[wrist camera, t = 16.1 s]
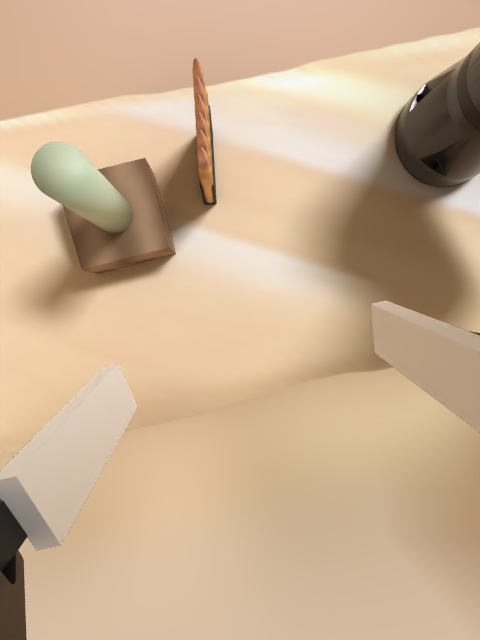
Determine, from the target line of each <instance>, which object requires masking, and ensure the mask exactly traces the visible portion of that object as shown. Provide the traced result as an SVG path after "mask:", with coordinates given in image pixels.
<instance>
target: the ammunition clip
mask: <svg viewBox="0 0 480 640" xmlns="http://www.w3.org/2000/svg"><path fill="white" fill-rule="evenodd" d="M193 81H194V99H195V115H196V132H197V149H198V165H199V169H198V171H199V177H200V188H201V192H202V196H203V200H204V204H216V203H217V202H216V185H215V167H214V149H213V132H212V122H211V112H210V106H209V103H208V94H207V91H206V88H205V82H204V76H203V72H202V68H201V65H200V63H199V61H198V59H197V58H195V59H194V62H193Z"/></svg>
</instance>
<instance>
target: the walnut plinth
mask: <svg viewBox="0 0 480 640" xmlns="http://www.w3.org/2000/svg"><path fill="white" fill-rule="evenodd" d="M98 171H99V172H100V173H101V174H102V175H103V176H104V177H105V178H106V179H107V180H108V181H109V182H110V183H111V184H112V185H113V186H114V188H115V189H116V190H117V191H118V192H119V193H120V194H121V195H122V196H123V197H124V198H125V199H126V200H127V201H128V202H129V204H130V205H131V207H132V210H133V220H132V223H131V225H130V226H129V227H128V228H127V229H126V230H125V231H123V232H121V233H109V232H106V231H104V230H103V229H101V228H100V227H98V226H96V225H95V224H93V223H91V222H90V221H88V220H86V219H85V218H83V217H82V216H80V215H78V214H77V213H75V212H73V211H72V210H70V209H69V208H67V207H65V206H64V205H63V207H64V210H65V213H66V217H67V220H68V224H69V227H70V230H71V234H72V237H73V241H74V244H75V247H76V251H77V254H78V258H79V261H80V264H81V268H82V270H86V271H90V272H94V273H97V274H98V273H102V272H106V271H110V270H113V269H117V268H121V267H125V266H129V265H133V264H137V263H141V262H145V261H149V260H152V259H156V258H160V257H164V256H168V255H172V254H176V252H175V249H174V245H173V241H172V238H171V234H170V230H169V227H168V223H167V219H166V216H165V212H164V209H163V205H162V201H161V198H160V194H159V190H158V187H157V183H156V179H155V176H154V173H153V171H152V169H151V168H150V166H149V164H148V162H147V161H146V159H145V158H143V159H139V160H135V161H131V162H127V163H123V164H119V165H115V166H111V167H107V168H103V169H99V170H98Z"/></svg>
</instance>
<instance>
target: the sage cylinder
mask: <svg viewBox="0 0 480 640" xmlns="http://www.w3.org/2000/svg"><path fill="white" fill-rule="evenodd" d="M31 174H32V178H33V180H34V182H35V184H36V186H37V187H38V188H39V189H40V190H41V191H42V192H43V193H44V194H46V195H47V196H49V197H51V198H52V199H54V200H55V201H57V202H59V203H60V204H62V205H64V206H65V207H67V208H69V209H70V210H72V211H73V212H75V213H77V214H78V215H80V216H82V217H83V218H85V219H86V220H88V221H90V222H91V223H93V224H95V225H96V226H98V227H100V228H101V229H103V230H104V231H106V232H109V233H121V232H123V231H125V230H126V229H127V228H128V227H129V226H130V225H131V223H132V220H133V210H132V207H131V205H130V204H129V202H128V201H127V200H126V199H125V198H124V197H123V196H122V195H121V194H120V193H119V192H118V191H117V190H116V189H115V188H114V186H113V185H112V184H111V183H110V182H109V181H108V180H107V179H106V178H105V177H104V176H103V175H102V174H101V173H100V172H99V171H98V170H97V169H96V167H95V166H94V165H93V164H92V163H91V162H90V161H89V160H88V159H87V158H86V157H85V156H84V155H83V154H82V153H81V152H80V151H79V150H78V149H77V148H76V147H74V146H73V145H71V144H68V143H65V142H51V143H48V144H46V145H44V146H42V147H41V148H40V149H39V150H38V151H37V152H36V153H35V155H34V157H33V159H32V163H31Z"/></svg>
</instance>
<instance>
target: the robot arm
mask: <svg viewBox="0 0 480 640" xmlns="http://www.w3.org/2000/svg"><path fill="white" fill-rule="evenodd" d="M396 147H397V151H398V154H399V157H400V159H401V161H402V163H403V165H404V166H405V168H406V169H407V170H408V171H409V172H410V173H411V174H412V175H413V176H414V177H415V178H416V179H418V180H420V181H421V182H423V183H426V184H428V185H431V186H436V187H450V186H455V185H458V184H460V183H463V182H465V181H467V180H468V179H470V178H472V177H474V176H476V175H477V174H479V173H480V43H479V44H478V45H477V46H476V47H475V48H474V49H473V50H472V51H471V52H470V53H469V54H468V56H466V57H465V58H463V59H462V60H460V61H459V62H457V63H456V64H454V65H452V66H451V67H449V68H448V69H446V70H445V71H443V72H442V73H440V74H439V75H437V76H436V77H434V78H433V79H431V80H430V81H428V82H427V83H426V84H424V85H423V86H422V87H421V88H420V89H419V90H418V91H417V92H416V93H415V95H414V96H413V97H412V98H411V99H410V100H409V101H408V103H407V104H406V105H405V107H404V108H403V110H402V112H401V114H400V116H399V119H398V122H397V126H396ZM371 313H372V325H373V338H374V351H375V354H377V355H378V356H379V357H381V358H382V359H383V360H385V361H386V362H387V363H389V364H390V365H391V366H392V367H394V368H395V369H396V370H398V371H399V372H400V373H402V374H403V375H404V376H406V377H407V378H408V379H410V380H411V381H412V382H414V383H415V384H416V385H417V386H419V387H420V388H421V389H423V390H424V391H425V392H427V393H428V394H429V395H430V396H432V397H433V398H434V399H436V400H437V401H438V402H440V403H441V404H442V405H444V406H445V407H446V408H448V409H449V410H450V411H451V412H453V413H454V414H456V415H457V416H458V417H459V418H461V419H462V420H463V421H465V422H466V423H467V424H469V425H470V426H471V427H473V428H474V429H475V430H477V431H478V432H479V433H480V333H475V332H470V331H467V330H464V329H461V328H458V327H456V326H453V325H450V324H448V323H445V322H442V321H440V320H437V319H434V318H432V317H429V316H426V315H424V314H421V313H418V312H416V311H413V310H410V309H408V308H405V307H402V306H400V305H397V304H394V303H392V302H389V301H386V300H385V301H381V302H377V303H373V304H371ZM136 409H137V405H136V402H135V400H134V398H133V395H132V393H131V390H130V388H129V386H128V383H127V381H126V378H125V376H124V374H123V371H122V369H121V366H120V364H119V363H115V364H111V365H107V366H104V367H103V368H102V369H101V370H100V371H99V372H98V373H97V374H96V375H95V376H94V377H93V378H92V379H91V380H90V381H89V382H88V383H87V384H86V385H85V386H84V387H83V388H82V389H81V390H80V391H79V392H78V393H77V394H76V395H75V396H74V397H73V398H72V399H71V400H70V401H69V402H68V403H67V404H66V405H65V406H64V407H63V408H62V409H61V410H60V411H59V412H58V413H57V414H56V415H55V416H54V417H53V418H52V419H51V420H50V421H49V422H48V423H47V424H46V425H45V426H44V427H43V428H42V429H41V430H40V431H39V432H38V433H37V434H36V435H35V436H34V437H33V438H32V439H31V440H30V441H29V442H28V443H27V444H26V445H25V446H24V447H23V448H22V449H21V450H20V451H19V452H18V453H17V454H16V455H15V456H14V457H13V458H12V459H11V461H9V462H8V463H7V464H6V465H5V466H4V467H3V468H2V469H1V470H0V640H26V619H25V618H26V616H25V591H24V590H25V589H24V562H23V561H24V560H23V558H22V555H21V554H20V552H19V551H18V549H19V548H20V546H21V545H22V544H23V542H24V541H25V539H26V538H28V539H29V540H30V542H31V543H32V545H33V546H34V547H35V549H36V550H41V549H47V548H51V547H56V546H60V545H62V543H63V541H64V539H65V537H66V536H67V534H68V532H69V530H70V528H71V526H72V525H73V523H74V521H75V519H76V517H77V516H78V514H79V512H80V510H81V508H82V507H83V505H84V503H85V501H86V499H87V497H88V496H89V494H90V492H91V490H92V488H93V487H94V485H95V483H96V481H97V479H98V478H99V476H100V474H101V472H102V470H103V469H104V467H105V465H106V463H107V461H108V459H109V457H110V456H111V454H112V452H113V450H114V449H115V447H116V445H117V443H118V441H119V440H120V438H121V436H122V434H123V432H124V430H125V429H126V427H127V425H128V423H129V421H130V420H131V418H132V416H133V414H134V412H135V410H136Z"/></svg>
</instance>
